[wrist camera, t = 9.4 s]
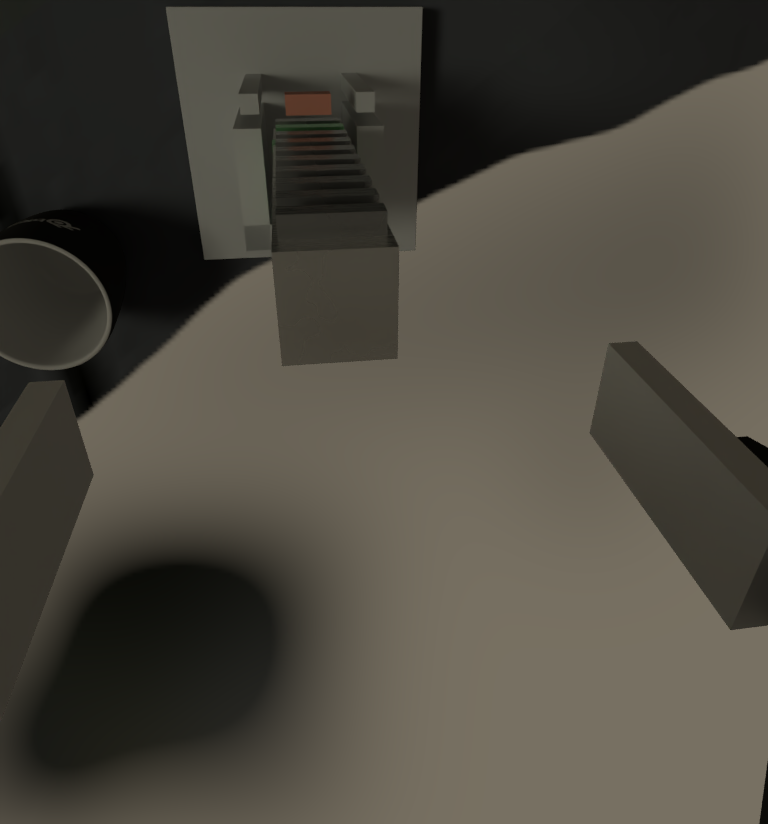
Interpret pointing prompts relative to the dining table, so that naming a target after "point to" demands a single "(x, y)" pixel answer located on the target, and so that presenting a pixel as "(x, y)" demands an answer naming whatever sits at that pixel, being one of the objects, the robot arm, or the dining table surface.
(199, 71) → the stand base
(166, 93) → the dining table surface
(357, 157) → the column
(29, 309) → the mug
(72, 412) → the robot arm
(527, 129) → the dining table surface
